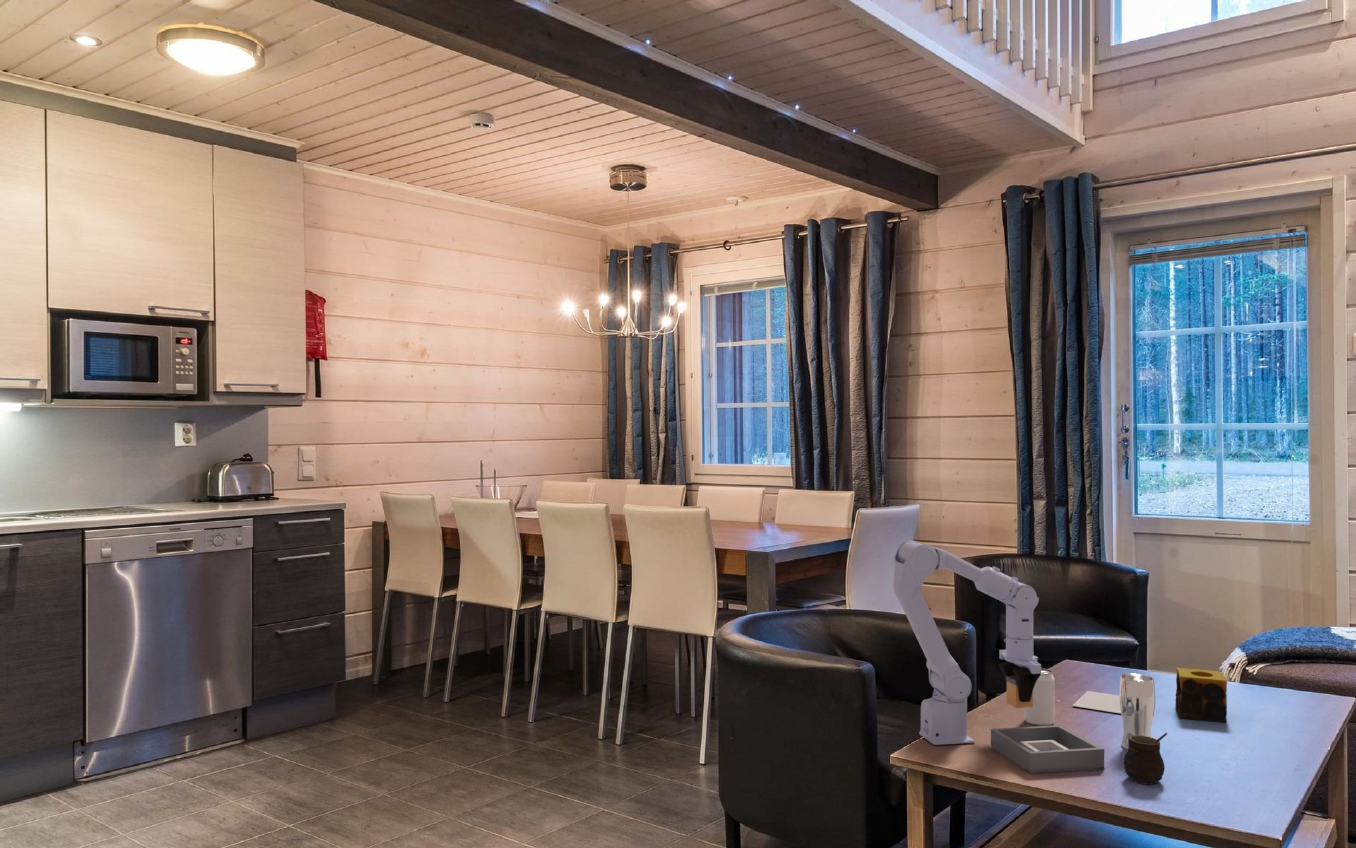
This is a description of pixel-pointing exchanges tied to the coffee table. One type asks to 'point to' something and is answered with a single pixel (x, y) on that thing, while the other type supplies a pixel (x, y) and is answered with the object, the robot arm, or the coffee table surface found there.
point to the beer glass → (1136, 705)
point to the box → (1047, 749)
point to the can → (1042, 701)
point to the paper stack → (1099, 702)
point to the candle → (1201, 695)
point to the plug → (1015, 694)
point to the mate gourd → (1144, 759)
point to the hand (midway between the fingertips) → (1019, 698)
